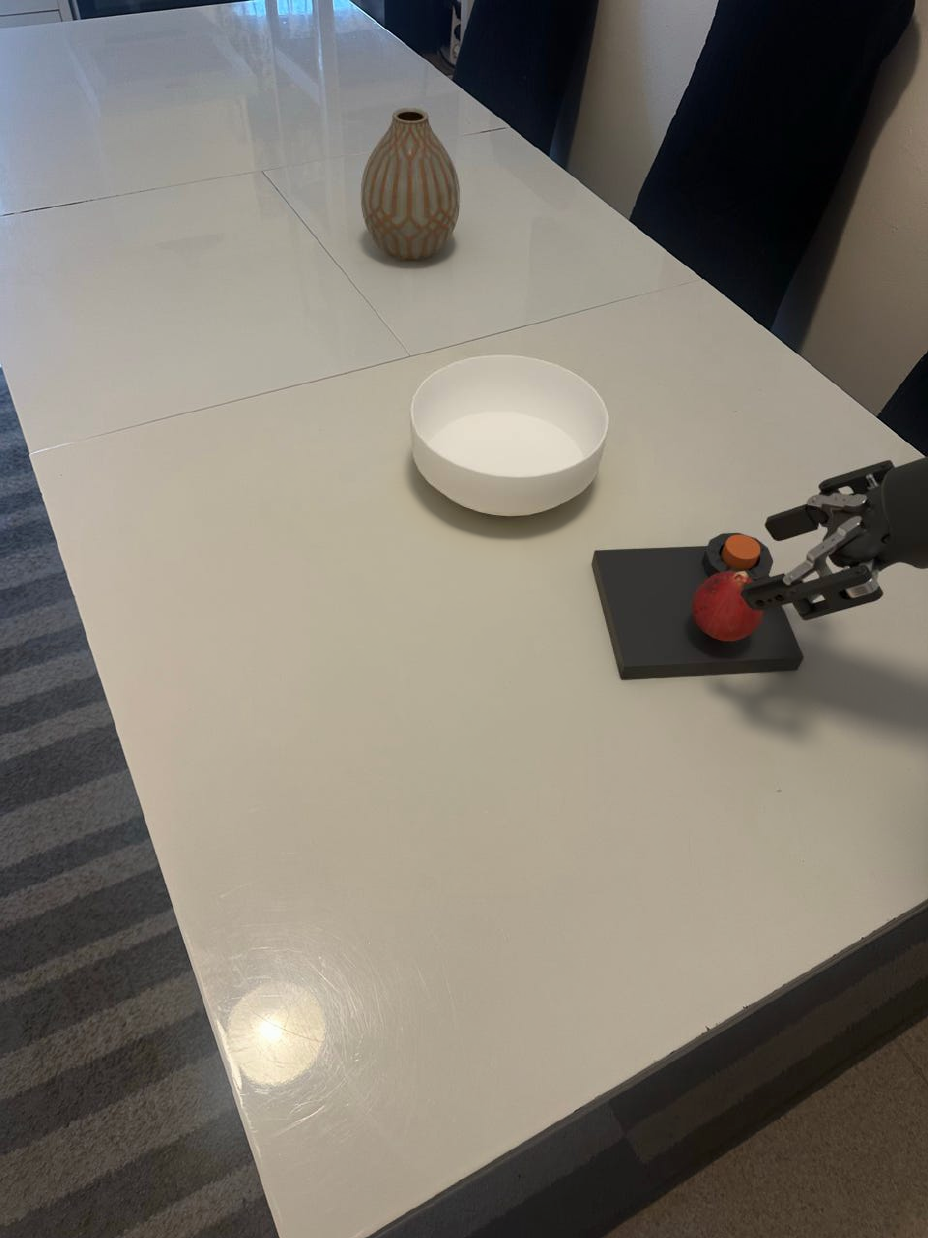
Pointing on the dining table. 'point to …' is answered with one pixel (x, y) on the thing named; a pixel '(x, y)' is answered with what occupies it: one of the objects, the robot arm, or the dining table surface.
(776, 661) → the scale
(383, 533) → the dining table surface
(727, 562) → the button
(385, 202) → the vase
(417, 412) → the bowl
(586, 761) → the dining table surface
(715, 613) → the pomegranate
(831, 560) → the robot arm
